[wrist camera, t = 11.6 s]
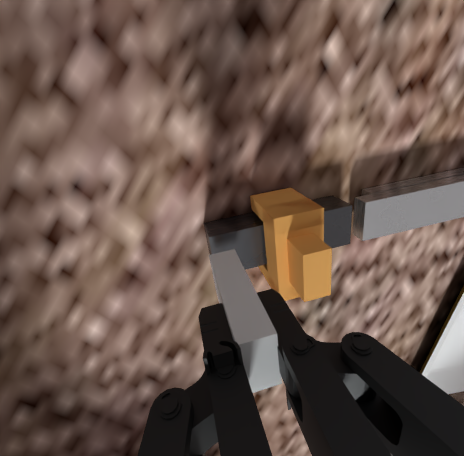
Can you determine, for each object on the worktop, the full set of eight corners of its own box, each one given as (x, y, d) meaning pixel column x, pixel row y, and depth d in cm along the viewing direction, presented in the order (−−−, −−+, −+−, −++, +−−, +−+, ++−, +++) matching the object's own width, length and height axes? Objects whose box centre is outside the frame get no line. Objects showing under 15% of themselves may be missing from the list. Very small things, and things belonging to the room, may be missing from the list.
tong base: (211, 264, 21) (217, 282, 18) (202, 216, 19) (207, 230, 17) (586, 175, 26) (624, 181, 24) (605, 132, 24) (647, 134, 22)
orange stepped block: (257, 265, 21) (293, 324, 15) (250, 195, 19) (288, 233, 13) (293, 257, 22) (340, 310, 16) (290, 187, 19) (345, 220, 13)
